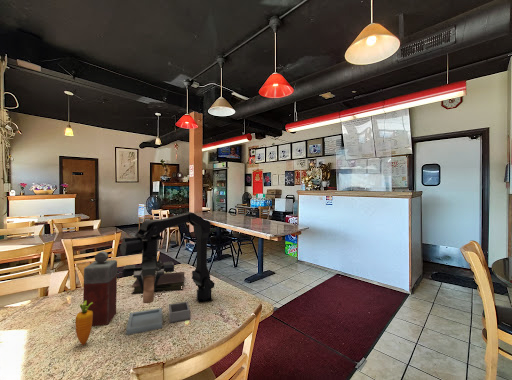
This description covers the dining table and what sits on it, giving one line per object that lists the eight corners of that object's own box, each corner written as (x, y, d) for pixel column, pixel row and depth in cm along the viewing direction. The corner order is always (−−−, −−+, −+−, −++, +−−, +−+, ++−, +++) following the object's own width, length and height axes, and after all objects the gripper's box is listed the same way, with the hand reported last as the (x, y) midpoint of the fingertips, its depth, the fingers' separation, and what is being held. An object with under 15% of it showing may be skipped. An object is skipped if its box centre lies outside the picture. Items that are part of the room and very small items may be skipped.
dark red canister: (118, 310, 103) (119, 247, 103) (107, 324, 92) (109, 254, 92) (95, 312, 101) (97, 248, 101) (82, 327, 90) (83, 255, 90)
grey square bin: (187, 310, 104) (187, 301, 104) (189, 319, 97) (190, 310, 97) (168, 313, 101) (168, 304, 101) (169, 323, 94) (169, 313, 94)
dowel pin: (153, 298, 97) (154, 274, 97) (153, 302, 93) (154, 277, 93) (143, 299, 95) (144, 275, 95) (142, 304, 92) (143, 278, 92)
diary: (139, 282, 136) (139, 273, 136) (184, 279, 142) (184, 270, 142) (131, 296, 118) (131, 286, 118) (182, 291, 124) (182, 282, 124)
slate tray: (161, 312, 102) (161, 307, 102) (162, 328, 91) (162, 322, 91) (129, 317, 97) (129, 313, 97) (126, 335, 86) (126, 329, 86)
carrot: (81, 340, 83) (81, 298, 83) (95, 340, 83) (96, 298, 83) (71, 350, 78) (71, 305, 78) (86, 349, 78) (87, 304, 78)
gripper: (120, 258, 83) (119, 302, 83) (175, 254, 91) (174, 294, 91) (124, 251, 94) (123, 290, 94) (173, 248, 101) (172, 284, 101)
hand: (148, 289), depth 94 cm, fingers closed on dowel pin, 4 cm apart
